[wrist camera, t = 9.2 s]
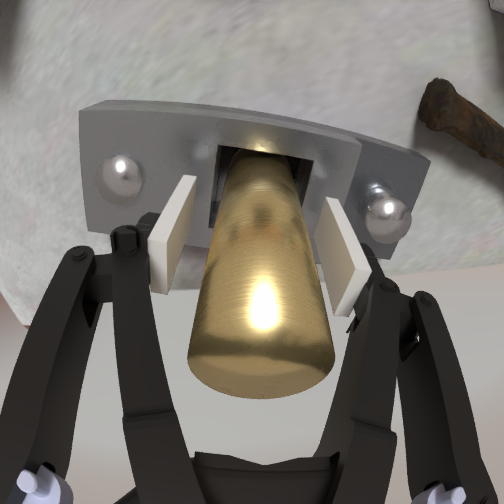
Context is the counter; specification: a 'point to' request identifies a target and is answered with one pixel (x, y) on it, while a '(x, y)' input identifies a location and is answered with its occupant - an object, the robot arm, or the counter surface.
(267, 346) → the brass pin
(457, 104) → the hand tool
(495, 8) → the light bulb box
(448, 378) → the robot arm
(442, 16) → the counter surface
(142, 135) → the stepped gray gadget
